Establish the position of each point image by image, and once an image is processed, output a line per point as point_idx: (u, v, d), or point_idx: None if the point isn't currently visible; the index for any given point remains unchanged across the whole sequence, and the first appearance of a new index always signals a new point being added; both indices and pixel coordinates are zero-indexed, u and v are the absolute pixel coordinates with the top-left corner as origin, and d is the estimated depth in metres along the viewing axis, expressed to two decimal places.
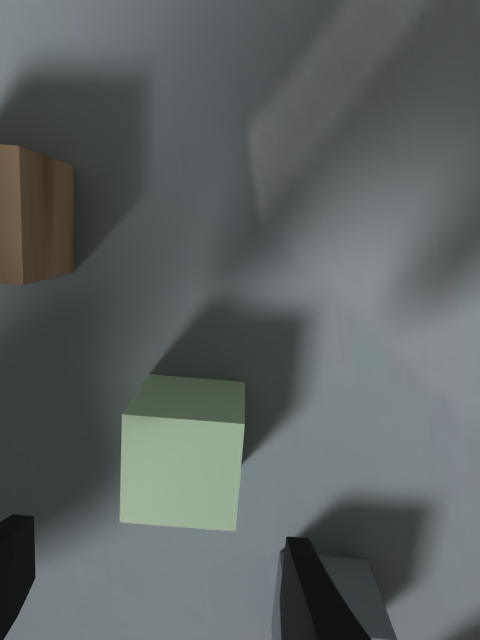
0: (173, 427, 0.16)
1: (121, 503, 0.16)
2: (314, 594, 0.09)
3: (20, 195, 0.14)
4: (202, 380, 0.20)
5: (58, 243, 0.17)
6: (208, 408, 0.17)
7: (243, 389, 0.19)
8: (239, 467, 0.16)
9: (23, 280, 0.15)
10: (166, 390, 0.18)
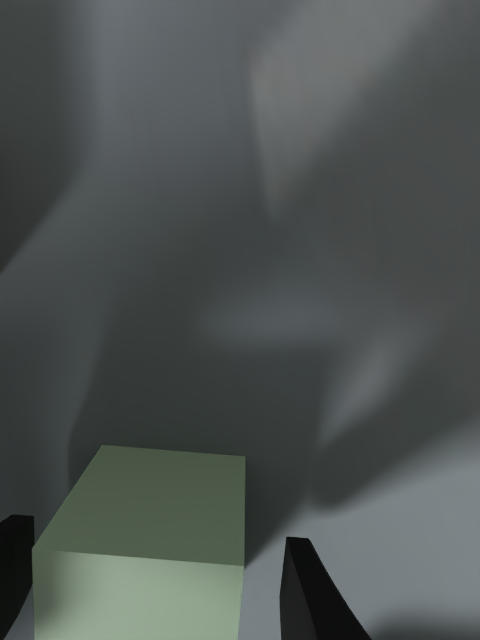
0: (120, 570, 0.09)
1: None
2: (314, 594, 0.09)
3: None
4: (180, 456, 0.13)
5: None
6: (185, 524, 0.10)
7: (242, 474, 0.12)
8: (235, 634, 0.09)
9: None
10: (121, 481, 0.12)
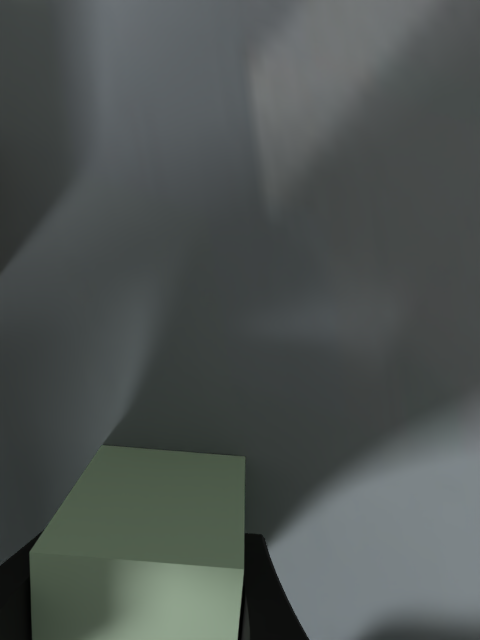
0: (119, 574, 0.09)
1: None
2: (255, 589, 0.09)
3: None
4: (179, 457, 0.13)
5: None
6: (184, 526, 0.10)
7: (242, 475, 0.12)
8: (235, 637, 0.09)
9: None
10: (120, 483, 0.11)
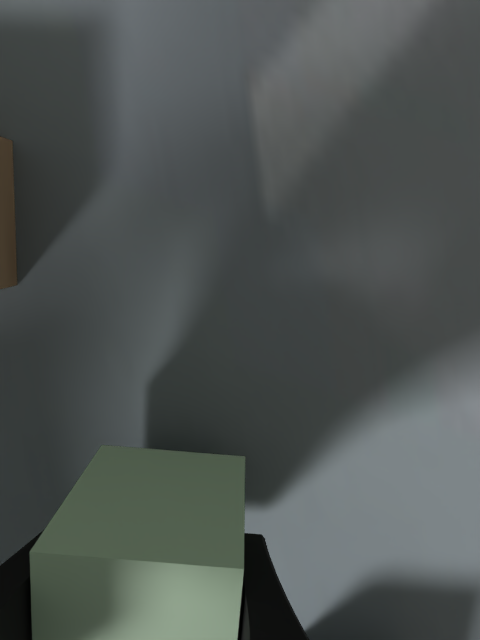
0: (119, 573, 0.09)
1: None
2: (255, 589, 0.09)
3: None
4: (180, 457, 0.13)
5: None
6: (184, 526, 0.10)
7: (242, 475, 0.12)
8: (234, 637, 0.09)
9: None
10: (120, 483, 0.11)
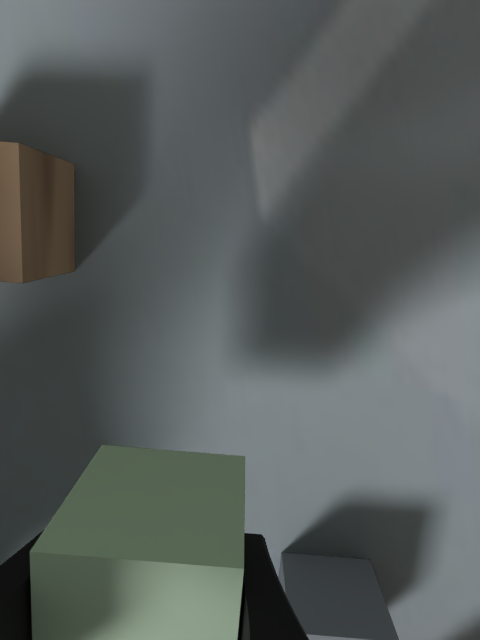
0: (119, 573, 0.09)
1: None
2: (255, 589, 0.09)
3: (19, 192, 0.14)
4: (179, 457, 0.13)
5: (58, 242, 0.17)
6: (184, 526, 0.10)
7: (242, 475, 0.12)
8: (234, 637, 0.09)
9: (23, 278, 0.14)
10: (120, 483, 0.11)
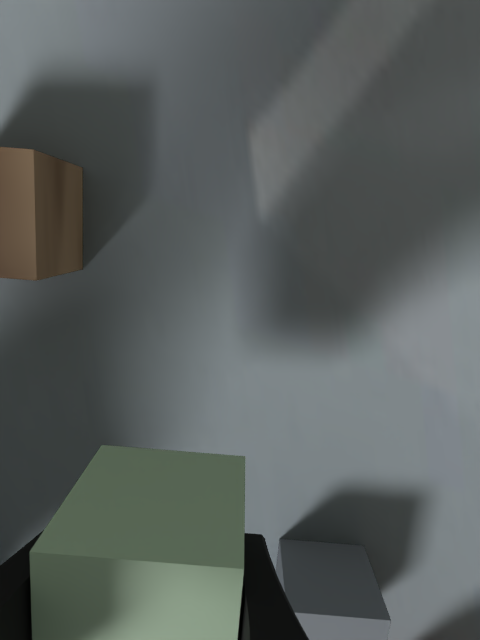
0: (119, 573, 0.09)
1: None
2: (255, 589, 0.09)
3: (34, 196, 0.15)
4: (179, 457, 0.13)
5: (68, 242, 0.18)
6: (184, 526, 0.10)
7: (242, 475, 0.12)
8: (235, 637, 0.09)
9: (36, 276, 0.15)
10: (120, 483, 0.11)
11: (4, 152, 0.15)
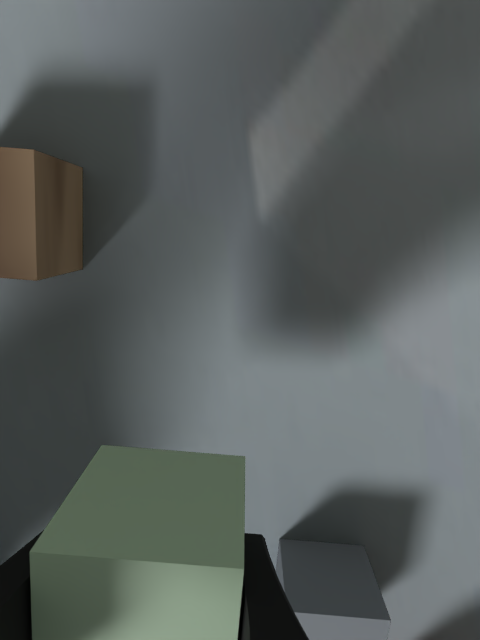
0: (119, 573, 0.09)
1: None
2: (255, 589, 0.09)
3: (34, 196, 0.15)
4: (179, 457, 0.13)
5: (68, 241, 0.18)
6: (184, 526, 0.10)
7: (242, 475, 0.12)
8: (235, 637, 0.09)
9: (37, 276, 0.15)
10: (120, 483, 0.11)
11: (4, 152, 0.15)
